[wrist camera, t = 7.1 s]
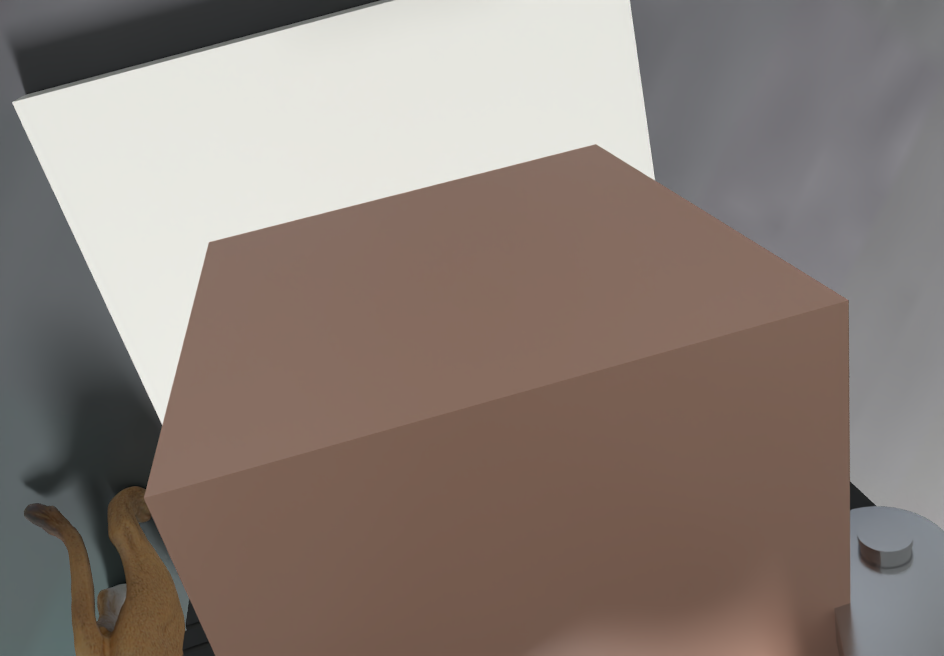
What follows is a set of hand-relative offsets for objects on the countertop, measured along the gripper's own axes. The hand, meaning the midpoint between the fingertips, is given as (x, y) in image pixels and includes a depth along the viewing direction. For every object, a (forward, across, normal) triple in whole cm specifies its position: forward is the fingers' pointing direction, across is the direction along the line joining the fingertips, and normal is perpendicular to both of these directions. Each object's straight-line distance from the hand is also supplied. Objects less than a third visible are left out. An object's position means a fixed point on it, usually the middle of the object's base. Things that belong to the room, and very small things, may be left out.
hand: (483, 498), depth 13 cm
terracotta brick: (+1, 0, 0) cm, 1 cm away
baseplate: (+14, 0, 0) cm, 14 cm away
